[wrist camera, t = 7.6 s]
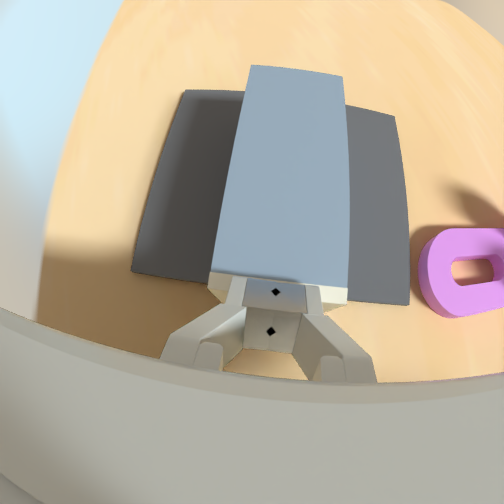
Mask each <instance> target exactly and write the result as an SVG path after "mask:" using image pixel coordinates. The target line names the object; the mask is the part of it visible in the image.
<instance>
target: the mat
mask: <svg viewBox="0 0 504 504" xmlns="http://www.w3.org/2000/svg"><path fill="white" fill-rule="evenodd" d="M244 95H245V91H229V90H185V92H184V95H183V97H182V100H181V102H180V105H179V107H178V110H177V113H176V115H175V118H174V121H173V123H172V126H171V129H170V132H169V135H168V137H167V140H166V143H165V146H164V149H163V152H162V155H161V158H160V161H159V164H158V168H157V171H156V174H155V177H154V181H153V184H152V187H151V191H150V194H149V198H148V201H147V205H146V209H145V212H144V216H143V220H142V224H141V228H140V232H139V236H138V240H137V244H136V248H135V253H134V257H133V262H132V266H131V271H132V272H134V273H140V274H146V275H153V276H159V277H165V278H172V279H178V280H185V281H191V282H198V283H205V284H208V280H209V274H210V272H211V266H212V260H213V254H214V248H215V242H216V236H217V230H218V225H219V219H220V213H221V208H222V203H223V197H224V192H225V187H226V181H227V176H228V171H229V166H230V161H231V156H232V151H233V146H234V141H235V136H236V132H237V127H238V122H239V117H240V113H241V108H242V104H243V99H244ZM345 108H346V121H347V136H348V154H349V186H350V231H349V263H348V282H347V288H348V293H347V301H357V302H368V303H379V304H391V305H404V306H407V305H409V300H410V244H409V223H408V209H407V197H406V188H405V179H404V171H403V163H402V156H401V150H400V144H399V138H398V132H397V127H396V122H395V117H394V116H392V115H388V114H384V113H380V112H376V111H372V110H368V109H363V108H359V107H354V106H349V105H345Z"/></svg>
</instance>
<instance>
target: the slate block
mask: <svg viewBox="0 0 504 504" xmlns="http://www.w3.org/2000/svg"><path fill="white" fill-rule="evenodd" d="M349 231H350V186H349V154H348V136H347V121H346V108H345V97H344V87H343V78H342V77H341V76H336V75H331V74H325V73H319V72H313V71H306V70H299V69H291V68H283V67H273V66H261V65H251V68H250V73H249V77H248V81H247V86H246V90H245V95H244V99H243V104H242V108H241V113H240V117H239V122H238V127H237V132H236V136H235V141H234V146H233V151H232V156H231V161H230V166H229V171H228V176H227V181H226V187H225V192H224V197H223V203H222V208H221V213H220V219H219V225H218V230H217V236H216V242H215V248H214V254H213V260H212V266H211V272H210V274H209V280H208V286H207V288H208V289H209V290H210V291H211V292H212V293H213V294H214V295H215V296H216V297H217V298H218V299H219V300H220V301H221V302H222V303H224V304H225V300H226V297H227V293H228V290H229V286H230V283H231V279H232V277H233V276H239V277H247V278H253V279H260V280H267V281H274V282H279V283H289V284H300V285H314V286H319V287H320V293H321V300H322V306H323V313H324V312H327V311H330V310H333V309H335V308H338V307H341V306H344V305H346V304H347V293H348V288H347V282H348V263H349Z"/></svg>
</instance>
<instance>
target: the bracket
mask: <svg viewBox="0 0 504 504" xmlns="http://www.w3.org/2000/svg"><path fill="white" fill-rule="evenodd" d="M474 259H487V260H489V261H490V262H491V264H492V266H493V270H494V277H493V280H492V282H487V283H480V284H474V285H467V286H460V285H458V284H457V283H456V282H455V281H454V279H453V277H452V274H451V265H452V262H453V261H462V260H474ZM418 280H419V285H420V289H421V292H422V294H423V296H424V298H425V300H426V302H427V303H428V305H429V306H430V307H431V308H432V310H434V311H435V312H436V313H437V314H439V315H441V316H443V317H446V318H458V317H464V316H469V315H473V314H478V313H482V312H486V311H490V310H494V309H498V308H502V307H504V228H452V229H447V230H444V231H442V232H441V233H439V234H438V235H436V236H435V237H433V238H432V239H430V240H429V241H428V242H427V243H426V245H425V246H424V248H423V249H422V251H421V254H420V257H419V262H418Z"/></svg>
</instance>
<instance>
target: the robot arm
mask: <svg viewBox="0 0 504 504" xmlns="http://www.w3.org/2000/svg"><path fill="white" fill-rule="evenodd" d="M243 348H248V349H258V350H268V351H275V352H283V353H291V354H292V356H293V357H294V359H295V360H296V362H297V363H298V365H299V366H300V368H301V369H302V371H303V372H304V374H305V375H306V377H307V378H308V380H295V379H283V378H273V377H264V376H255V375H247V374H240V373H233V372H226V371H223V368H224V367H225V366H226V365H227V364H228V363H229V362H230V361H231V360H232V359H233V358H234V357H235V356H236V355H237V354H238V353H239V352H240V351H241V350H242V349H243ZM0 504H504V372H501V373H495V374H488V375H481V376H474V377H465V378H456V379H446V380H433V381H418V382H394V383H377V379H376V375H375V370H374V366H373V362H372V358H371V356H370V355H369V354H367V353H366V352H365V351H364V350H363V349H362V348H361V347H360V346H359V345H358V344H357V343H356V342H355V341H354V340H353V339H352V338H351V337H350V336H349V335H347V334H346V333H345V332H344V331H343V330H342V329H341V328H340V327H339V326H338V325H337V324H336V323H335V322H334V321H333V320H332V319H331V318H330V317H328V316H324V313H323V306H322V300H321V293H320V287H319V286H314V285H300V284H289V283H279V282H274V281H267V280H260V279H253V278H247V277H239V276H233V277H232V279H231V283H230V286H229V290H228V293H227V297H226V300H225V304H222V303H220V304H218V305H217V306H215V307H214V308H212V309H210V310H209V311H207V312H206V313H204V314H202V315H201V316H199V317H197V318H196V319H194V320H193V321H191V322H189V323H188V324H186V325H184V326H183V327H181V328H179V329H178V330H176V331H174V332H173V333H171V334H170V336H169V338H168V340H167V342H166V345H165V347H164V349H163V351H162V354H161V356H160V358H159V359H157V358H153V357H148V356H144V355H140V354H136V353H132V352H128V351H124V350H121V349H117V348H113V347H110V346H106V345H103V344H99V343H96V342H92V341H89V340H86V339H83V338H80V337H77V336H73V335H70V334H67V333H64V332H62V331H59V330H56V329H53V328H50V327H47V326H45V325H42V324H39V323H37V322H34V321H32V320H29V319H27V318H24V317H21V316H19V315H17V314H14V313H12V312H9V311H7V310H5V309H3V308H0Z"/></svg>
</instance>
